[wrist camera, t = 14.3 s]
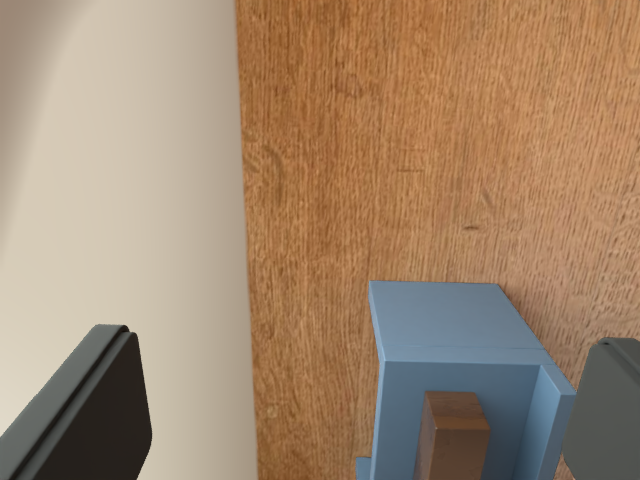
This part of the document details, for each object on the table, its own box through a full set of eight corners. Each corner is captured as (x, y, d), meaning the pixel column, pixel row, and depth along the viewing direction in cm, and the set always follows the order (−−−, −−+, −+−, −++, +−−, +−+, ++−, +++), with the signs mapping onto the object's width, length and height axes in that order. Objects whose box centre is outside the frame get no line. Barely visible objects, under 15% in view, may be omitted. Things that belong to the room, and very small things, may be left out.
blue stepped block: (355, 468, 44) (366, 620, 32) (369, 280, 36) (390, 389, 24) (461, 471, 44) (510, 623, 32) (497, 283, 36) (579, 394, 24)
